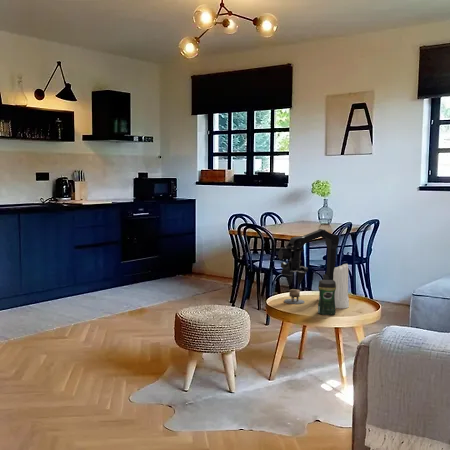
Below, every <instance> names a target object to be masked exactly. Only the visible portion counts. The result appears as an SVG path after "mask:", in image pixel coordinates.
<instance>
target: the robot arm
mask: <svg viewBox="0 0 450 450" xmlns="http://www.w3.org/2000/svg"><path fill="white" fill-rule="evenodd" d="M318 238H322V239H324V241H325V246H326V248H327V252H326V253H327V255H326V259H327V261H326V272H325V274H324V273H323V274H322V280H333V274H334V268H335V267H336V255H337V254H336V252H337V247H338V246H339V243H340V237H339V235H337V234H334V233H330V232H329V231H327V230H326V229H323V228H319V229H317V230H315V231H313V232H310V233H307V234H304V235H300V236H294V237H291V238H290V240H289V242H288V244H287V245H286V246H285V247H280V248H279V250H278V252H277V256H278V259H279V260H280V261H281V260H288V262H285V261H283V262H280V268H281V273H280V274H281V275H282V276H284V277H285V278H286V281H287V284H288V287H291V285H292V282H293V278H294V273H296V274H297V284H298V285H301V283H302V282H303V279H304V277H305V276H306V275H307V273H308V272H309V268H308V267H307V266H303V265H301V263H302V262H303V261H302V260H301V252H304V251H305V250H304V249H303V246H304V245H306V244H307V243H310V242H312V241H314V240H318Z"/></svg>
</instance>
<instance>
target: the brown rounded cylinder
mask: <svg viewBox="0 0 450 450" xmlns="http://www.w3.org/2000/svg"><path fill="white" fill-rule="evenodd" d="M300 291H301V290H300V289H295V288H292V289H289V291H288V292H289V295H288V296H289V297H290V299H291V302H293V301H294V299H295V298H296V299H297V302H298V301H299V299H300V298H299V297H300V295H301V294H300Z"/></svg>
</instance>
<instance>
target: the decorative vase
mask: <svg viewBox="0 0 450 450" xmlns="http://www.w3.org/2000/svg"><path fill="white" fill-rule="evenodd" d="M333 280H334V281H335V283H336V290H335V309H348V308H349V306H350V304H349V302H350V299H349V294H348V293H349V265H348V263H343V264H342V265H339V266H337V267H336V266H335V268H334V274H333Z"/></svg>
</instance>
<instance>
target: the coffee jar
mask: <svg viewBox="0 0 450 450" xmlns="http://www.w3.org/2000/svg"><path fill="white" fill-rule="evenodd" d="M317 289H318V291H319V294H318V302H317V303H318V304H317V305H318V306H317V313H318V315H324V316H332V315H335V314H336V309H337V308H335V290H336V283H335V281H334V280H323V279H319V280H318V287H317Z"/></svg>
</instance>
